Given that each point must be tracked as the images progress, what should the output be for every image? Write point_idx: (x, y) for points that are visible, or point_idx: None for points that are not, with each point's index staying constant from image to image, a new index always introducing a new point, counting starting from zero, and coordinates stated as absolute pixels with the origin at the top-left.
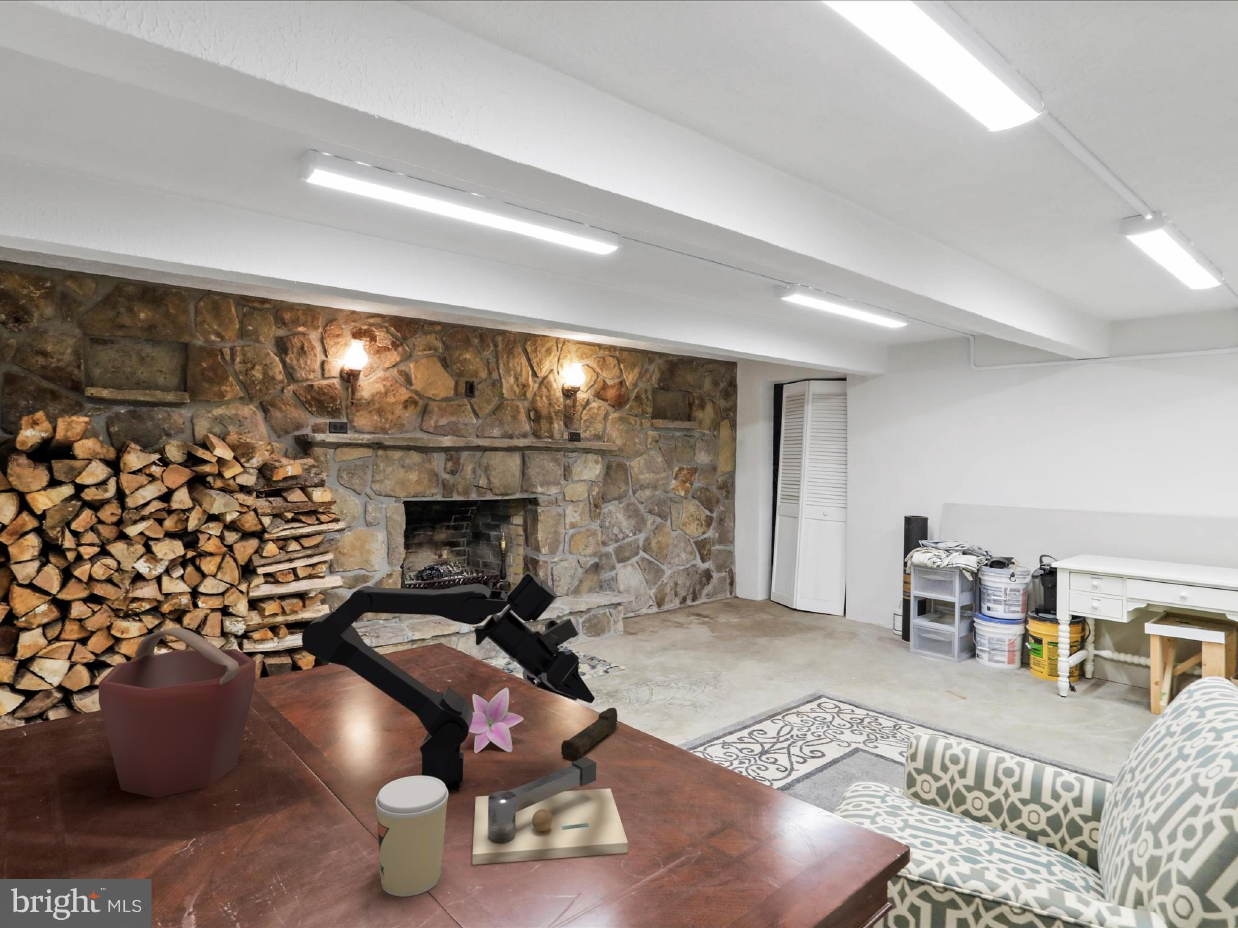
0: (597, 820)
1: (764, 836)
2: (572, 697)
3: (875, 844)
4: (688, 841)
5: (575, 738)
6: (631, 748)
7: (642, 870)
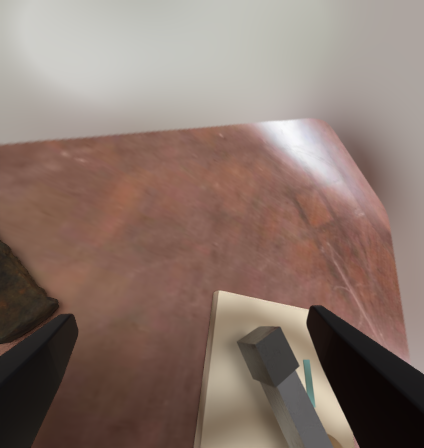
0: (296, 341)
1: (309, 179)
2: (68, 352)
3: (320, 125)
4: (313, 244)
5: (3, 300)
6: (58, 186)
7: (353, 312)
